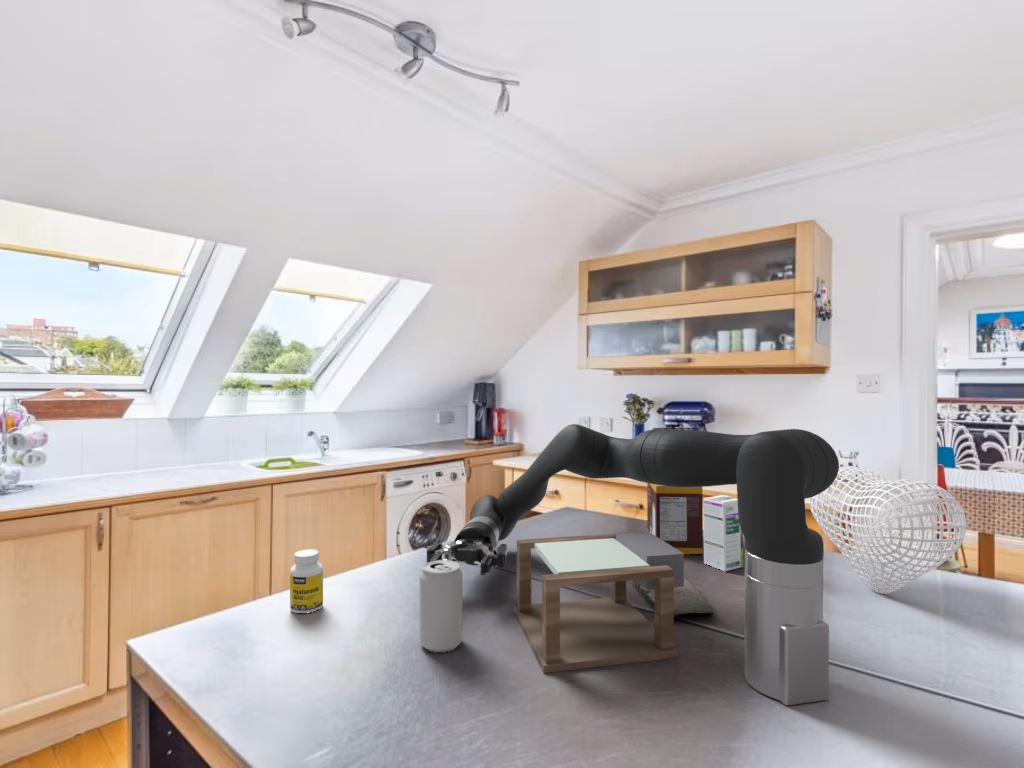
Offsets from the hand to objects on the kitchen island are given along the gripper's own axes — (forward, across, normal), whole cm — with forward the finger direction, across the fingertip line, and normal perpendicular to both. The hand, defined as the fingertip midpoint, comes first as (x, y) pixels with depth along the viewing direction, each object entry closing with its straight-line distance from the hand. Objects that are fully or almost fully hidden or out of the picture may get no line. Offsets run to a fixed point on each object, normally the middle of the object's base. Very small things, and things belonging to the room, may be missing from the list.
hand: (458, 568), depth 95 cm
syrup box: (-30, +50, +8) cm, 59 cm away
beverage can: (+11, 0, +8) cm, 14 cm away
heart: (-19, +75, +8) cm, 78 cm away
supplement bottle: (+2, -27, +8) cm, 28 cm away
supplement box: (-44, +42, +8) cm, 61 cm away
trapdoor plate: (+3, +25, -1) cm, 25 cm away
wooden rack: (+4, +22, +8) cm, 24 cm away
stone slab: (-16, +36, +8) cm, 40 cm away
